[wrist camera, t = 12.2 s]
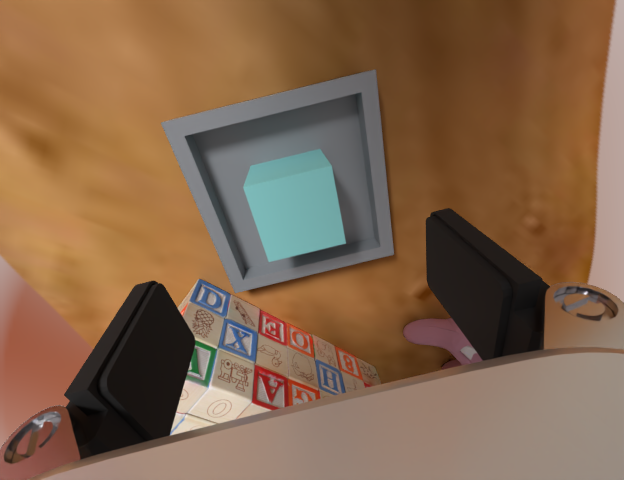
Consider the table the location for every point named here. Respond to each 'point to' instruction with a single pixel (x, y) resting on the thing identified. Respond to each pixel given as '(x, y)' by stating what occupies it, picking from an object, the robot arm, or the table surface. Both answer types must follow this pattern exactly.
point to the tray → (278, 144)
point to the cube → (295, 205)
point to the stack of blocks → (255, 362)
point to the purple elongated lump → (442, 339)
